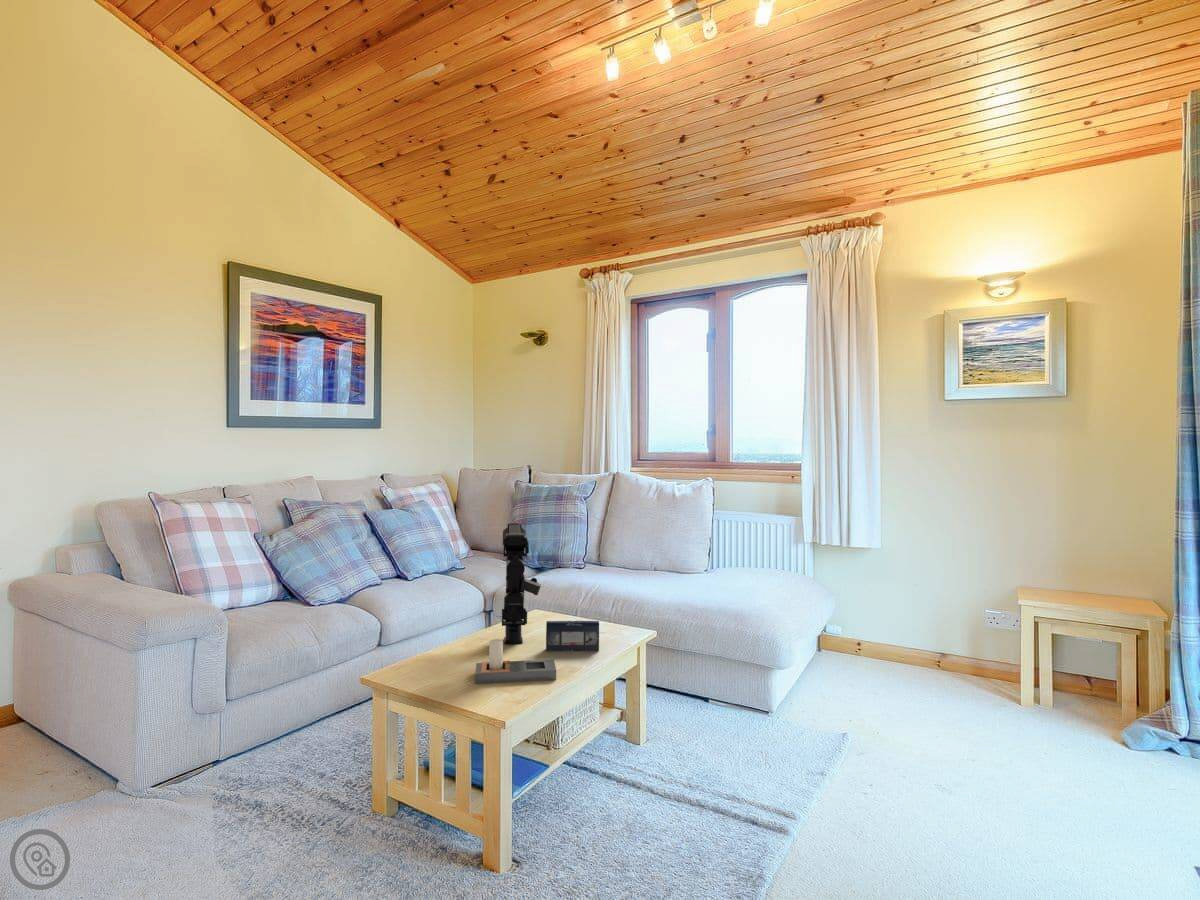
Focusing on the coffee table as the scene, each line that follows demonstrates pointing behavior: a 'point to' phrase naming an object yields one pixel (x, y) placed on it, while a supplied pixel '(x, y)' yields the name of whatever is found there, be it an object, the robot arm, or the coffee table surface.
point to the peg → (496, 654)
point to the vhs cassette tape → (572, 636)
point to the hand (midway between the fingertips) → (514, 619)
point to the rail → (516, 671)
